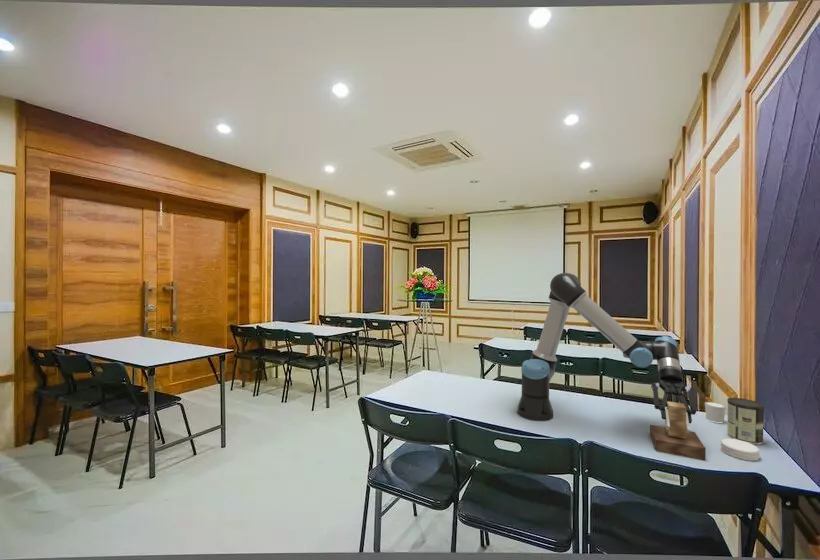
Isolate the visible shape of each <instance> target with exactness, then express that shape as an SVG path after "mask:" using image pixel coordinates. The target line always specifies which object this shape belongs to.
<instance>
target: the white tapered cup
mask: <svg viewBox="0 0 820 560" xmlns="http://www.w3.org/2000/svg"><path fill="white" fill-rule="evenodd" d="M704 407H705V409H704V410H705V419H706V418H707V419H708V420H711V421H715V422H725V415H726V409H727V406H726V405H724V404H721V403H718V402H714V401H713V402H711V401H705V402H704ZM707 419H706V420H707ZM708 420H707V421H708Z"/></svg>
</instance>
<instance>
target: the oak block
mask: <svg viewBox="0 0 820 560" xmlns="http://www.w3.org/2000/svg"><path fill="white" fill-rule="evenodd" d="M665 409H668V415H669V422H670V428H669V430H667V429H666V431H667V433H668V436H673V437H678V438H684V439H686V407H685V405H684V404H683V403H680V402H675V401H668V400H667V402H666V407H665Z"/></svg>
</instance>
